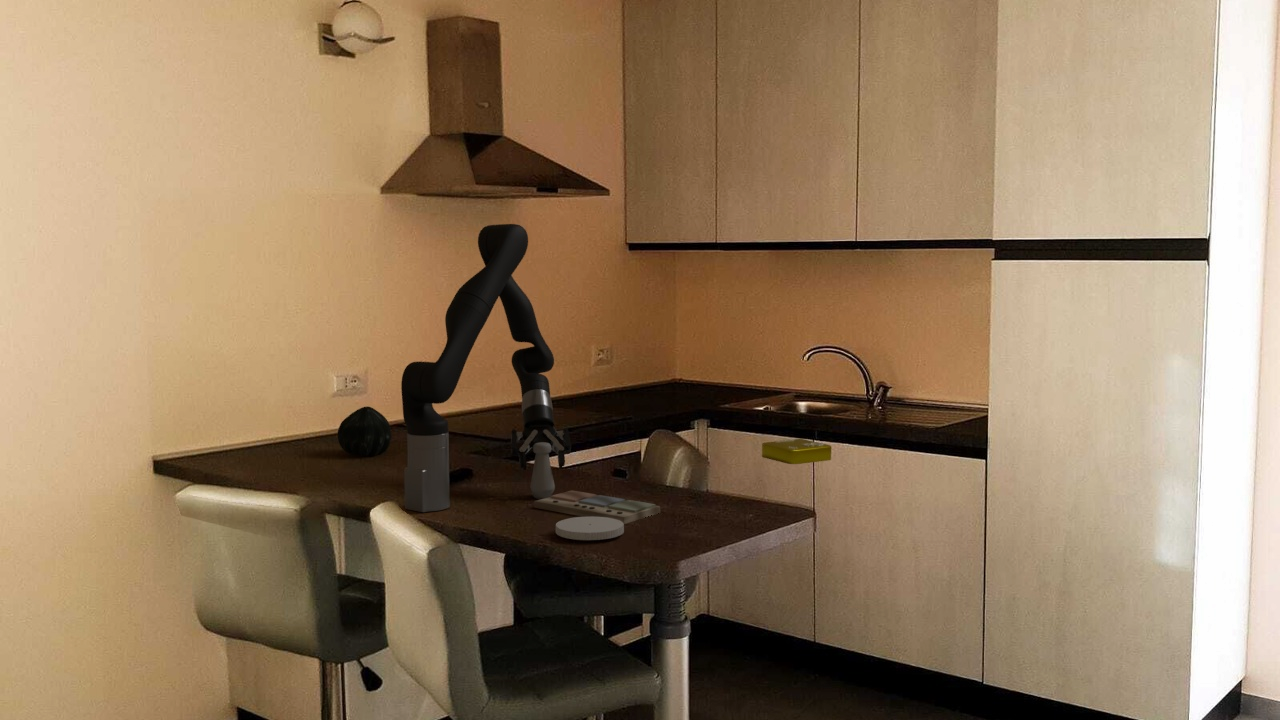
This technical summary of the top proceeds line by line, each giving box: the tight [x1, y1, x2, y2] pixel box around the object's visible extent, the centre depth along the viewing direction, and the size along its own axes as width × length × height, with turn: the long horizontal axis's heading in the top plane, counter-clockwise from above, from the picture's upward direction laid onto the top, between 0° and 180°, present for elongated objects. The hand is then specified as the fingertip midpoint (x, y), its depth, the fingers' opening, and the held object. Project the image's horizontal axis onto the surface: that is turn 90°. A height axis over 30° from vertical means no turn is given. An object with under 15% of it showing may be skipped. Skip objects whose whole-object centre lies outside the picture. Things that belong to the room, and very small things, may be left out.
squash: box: [337, 406, 392, 457], centre depth 326 cm, size 14×15×15 cm
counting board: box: [533, 490, 661, 525], centre depth 256 cm, size 13×26×2 cm, turn 53°
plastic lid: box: [555, 516, 625, 541], centre depth 234 cm, size 14×14×2 cm
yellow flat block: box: [761, 438, 832, 465], centre depth 321 cm, size 15×15×5 cm
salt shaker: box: [530, 442, 556, 500], centre depth 269 cm, size 6×6×13 cm
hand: (542, 467), depth 268 cm, fingers open, 8 cm apart
